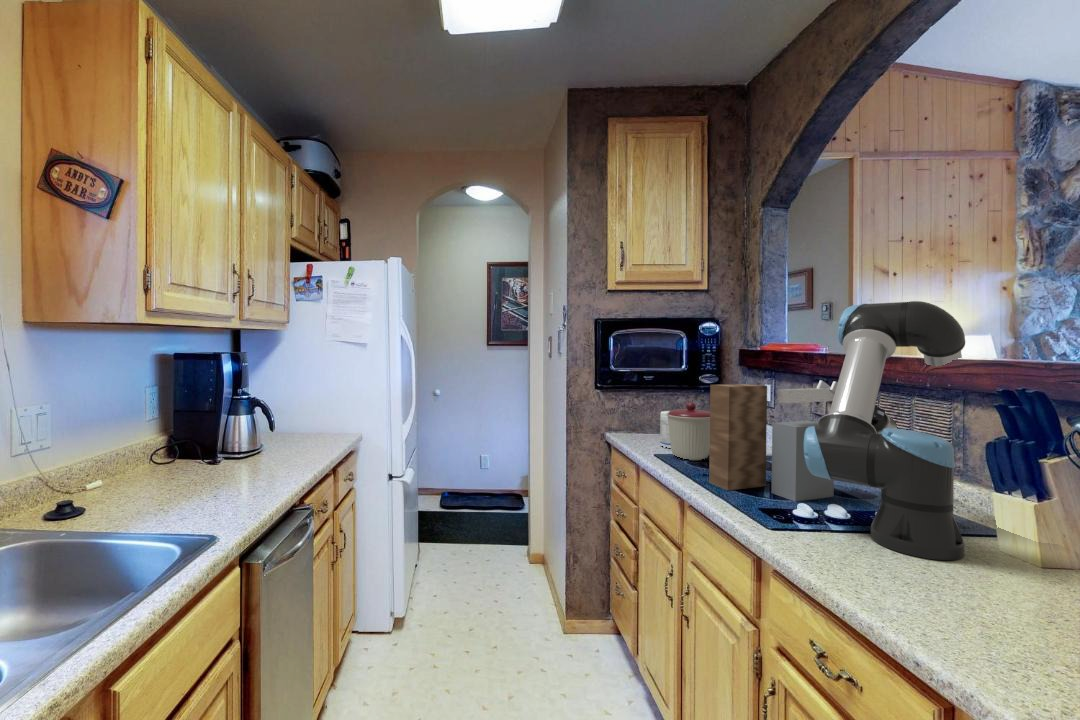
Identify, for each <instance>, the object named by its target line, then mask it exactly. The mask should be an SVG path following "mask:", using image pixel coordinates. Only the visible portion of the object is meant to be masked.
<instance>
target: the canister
mask: <svg viewBox="0 0 1080 720" xmlns="http://www.w3.org/2000/svg"><path fill="white" fill-rule="evenodd" d="M685 407H686V408H676V409H671V410H669V411H670V412H669V413H666V415H667V416H668V424H669V434H670V443H671V453H672V455H673V456H674V455H675V456H677V457H680V458H683V459H682V460H684V459H689V460H688V461H703V460H702V459H704V460H706V459H707V458H708V457H709V455H710V410H703V409H698V408H697V406H696V403H695V402H692V401H691V402H690V401H689V402H687V403H686V405H685ZM675 456H674V457H675ZM677 457H676V458H677ZM680 458H679V459H680ZM705 458H706V459H705Z"/></svg>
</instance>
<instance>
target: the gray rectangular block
mask: <svg viewBox="0 0 1080 720" xmlns="http://www.w3.org/2000/svg"><path fill="white" fill-rule="evenodd" d="M818 423H819V421H814V420H801V421H800V420H799V421H781V422H778V421H777V422H772V424H771V425H772V426H771V429H772V430H771V431H772V432H771V435H772V436H771V437H772V438H771V444H772V445H771V489H770V490H771V494H773V495H776V496H779V497H782V498H785V499H787V500H790V501H793V502H803V501H810V500H817V499H825V498H833V497H834V496H835V494H834V491H835V490H834V489H835V480H829V479H826V478H821V477H817V476H814V475H812V474H811V473H810V472H809V470H808V468H807V466H806V462H805V457H804V434H805V431H806V429H807V428H808V427H810V426H815V427H817V426H818Z"/></svg>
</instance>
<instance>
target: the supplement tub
mask: <svg viewBox="0 0 1080 720" xmlns="http://www.w3.org/2000/svg"><path fill="white" fill-rule="evenodd" d="M670 411H671V410H664V411H663V410H662V411H660V416H659V418H660V419H659V420H660V421H659V422H660V425H659V426H660V427H659V428H660V429H659V431H660V433H659V437H660V438H659V439H660V440H659V442H660V443H662V444H664V445H670V446H671V443H670V434H669V424H668V416H667V415H666V413H669V412H670ZM660 443H659V444H660Z"/></svg>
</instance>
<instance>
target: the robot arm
mask: <svg viewBox="0 0 1080 720" xmlns="http://www.w3.org/2000/svg"><path fill="white" fill-rule="evenodd" d="M965 338H966V336H965V332H964V329H963V328H962V326H961V324H960V323H959V322H958V320H957V319H956V318H955V317H954V316H953V315H952V314H950V313H949V312H948V311H946V310H945V309H944V308H941V307H940V306H938V305H935V304H932V303H930V302H925V301H919V300H918V301H917V300H916V301H915V300H913V301H912V300H911V301H899V302H896V301H895V302H880V303H878V302H877V303H861V304H855V305H850V306H848V307H847V308H845V310H843V312H842V313H841V315H840V318H839V321H838V329H837V339H838V342H839V344H840V345H841V346H842V347H843V349H844V350H845V356H844V360H843V364H842V367H841V370H840V374H839V377H838V381H834V380H833V381H832V384H831V386H830V385H829V384H828V383H827V382H825V381H823V380H821V379H819V382H818V384H817V386H816V388H829V387H831V388H830V390H831V391H832V392H834V393H835V394H834V398H833V401H826V402H827V404H829V405H831V406H830V409H829V412H828V413H827V414H824V415H823V416H821V418H820V419H819V421H818V422H819V423H818V426H817V427H815V426H810V427H808V428H807V429H806V431H805V434H804V457H805V462H806V466H807V468H808V470H809V472H810V473H811V474H812V475H814V476H817V477H821V478H826V479H829V480H834V481H837V482H842V483H848V484H854V485H859V486H865V487H871V488H877V489H879V490H880V489H881V494H880V496H881V497H880V499H881V501H880V504H879V506H878V509H877V510H876V513H875V516H874V518H873V520H872V523H871V525H870V538H871V540H873V542H875V543H877V544H878V545H880V546H882V547H885V548H888V549H890V550H892V551H896V552H898V553H901V554H904V555H908V556H914V557H918V558H923V559H929V560H940V561H954V560H955V561H956V560H960V559H963V558H964V557H965V543H964V540H963V536H962V534H961V531H960V529H959V525H958V523H957V521H956V518H955V514H954V498H955V497H954V491H955V489H954V488H955V487H954V484H955V482H954V478H955V475H954V474H955V468H956V462H955V450H954V447H953V445H952V444H951V442H950V441H948V440H946V439H944V438H942V437H939V436H936V435H933V434H929V433H927V432H926V433H924V432H920V431H917V430H906V429H898V427H897V424H896V422H895V421H894V420H893V419H892V418H891V417H889V416H888V415H887V414H886V413H885V410H883V408H881V407H879V406H878V405H876V404H877V403H876V402H877V398H878V394H879V390H880V387H881V382H882V377H883V373H884V369H885V365H886V360H887V359H888V358H891V357H892V356H893V355H894V353H895V352H896V349H897V348H899V347H900V348H902V347H903V348H904V347H906V348H907V347H908V348H909V347H910V348H911V347H914V348H915V347H916V348H917V350H918V351H919V352H920V354H922V355H923V359H924V364H925V363H926V364H927V365H931V366H934V367H935V366H936V367H937V366H942V365H945V364H947V363H950V362H952V360H956V359H958V358H962V357H963V355H962V351H963V350H964V348H965V346H966V339H965ZM962 359H963V358H962Z"/></svg>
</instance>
